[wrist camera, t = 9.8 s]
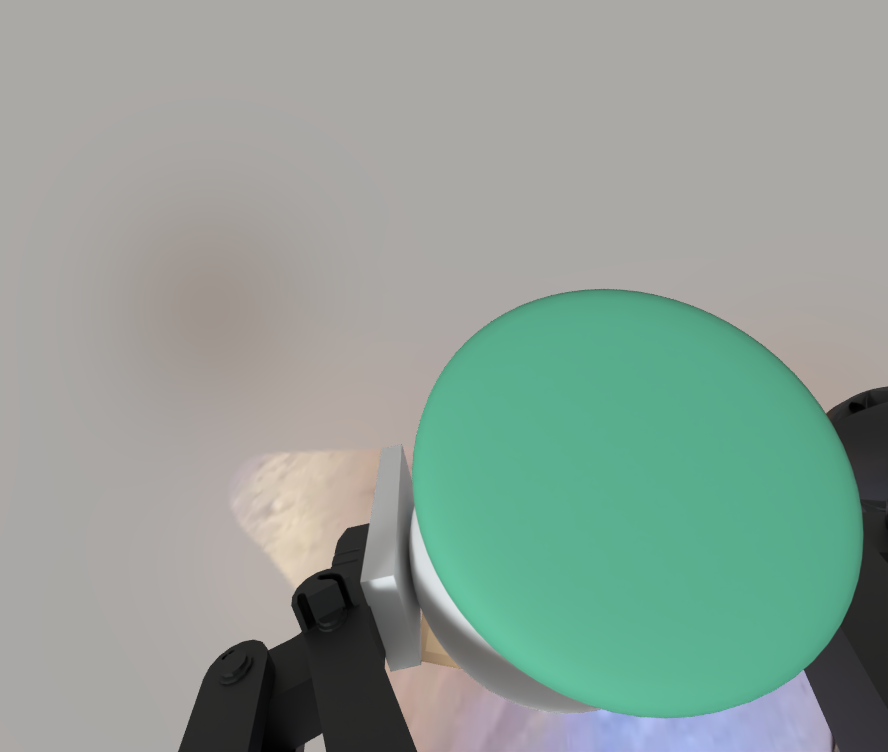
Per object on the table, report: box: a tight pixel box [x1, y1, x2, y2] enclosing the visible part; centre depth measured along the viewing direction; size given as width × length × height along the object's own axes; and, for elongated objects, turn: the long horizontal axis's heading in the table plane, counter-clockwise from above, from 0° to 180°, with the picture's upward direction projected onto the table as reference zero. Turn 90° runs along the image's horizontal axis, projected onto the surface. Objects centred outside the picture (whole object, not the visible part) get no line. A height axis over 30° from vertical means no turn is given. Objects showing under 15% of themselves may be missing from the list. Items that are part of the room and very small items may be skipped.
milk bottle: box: [409, 289, 863, 718], centre depth 13 cm, size 8×8×20 cm
